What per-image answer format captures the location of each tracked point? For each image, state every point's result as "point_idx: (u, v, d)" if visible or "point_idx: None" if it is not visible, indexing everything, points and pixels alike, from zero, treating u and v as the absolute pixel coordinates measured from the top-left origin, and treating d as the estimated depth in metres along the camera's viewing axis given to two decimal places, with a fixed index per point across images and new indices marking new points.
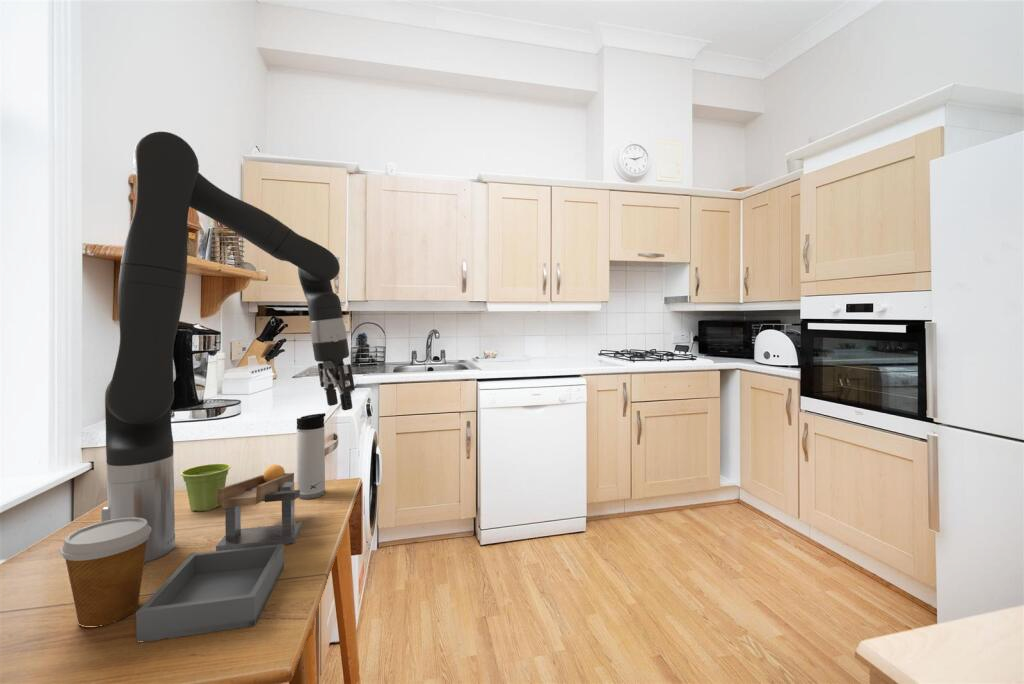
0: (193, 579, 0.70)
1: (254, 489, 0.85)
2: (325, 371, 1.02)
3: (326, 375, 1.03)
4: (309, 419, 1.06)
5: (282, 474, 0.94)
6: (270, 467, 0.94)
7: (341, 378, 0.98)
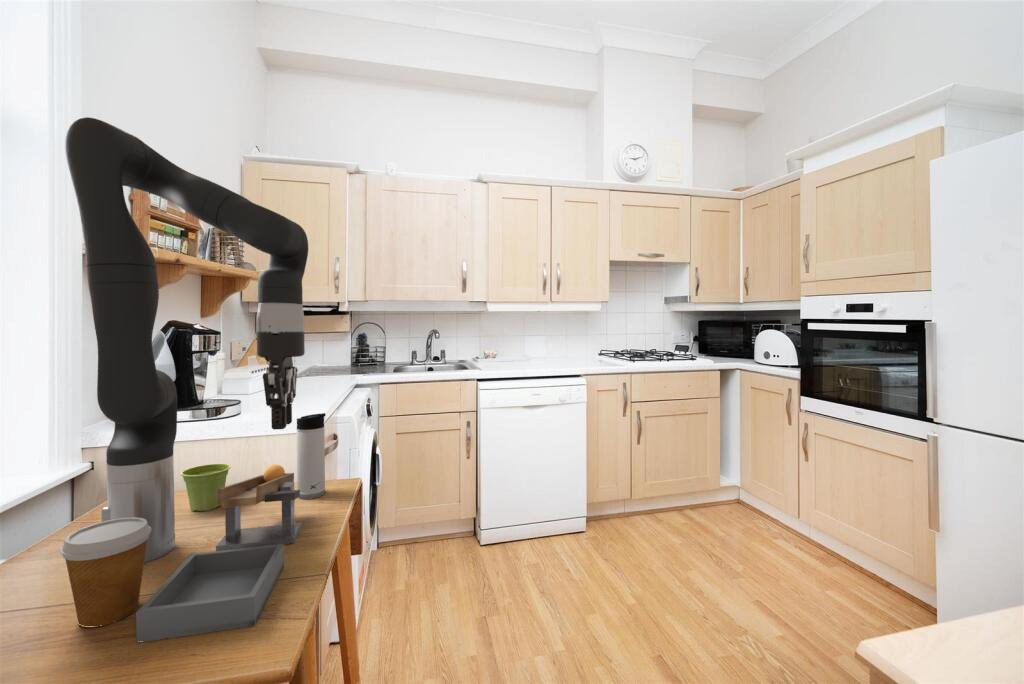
0: (193, 579, 0.70)
1: (254, 489, 0.85)
2: None
3: None
4: (309, 419, 1.06)
5: (282, 474, 0.94)
6: (270, 467, 0.94)
7: None
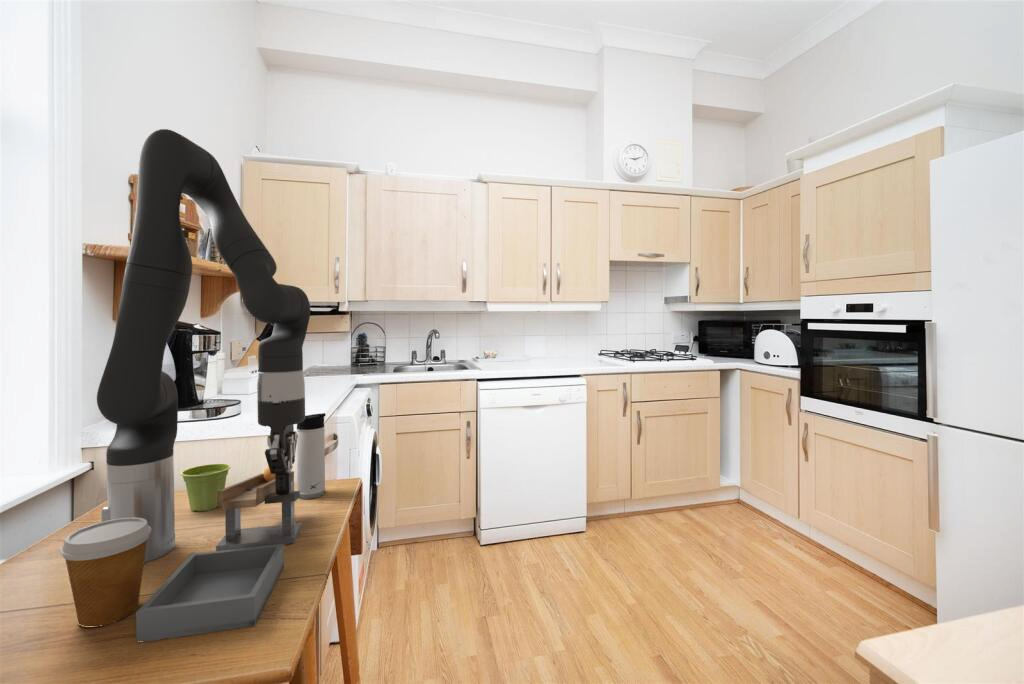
0: (193, 579, 0.70)
1: (254, 489, 0.85)
2: None
3: None
4: (309, 419, 1.06)
5: None
6: None
7: None
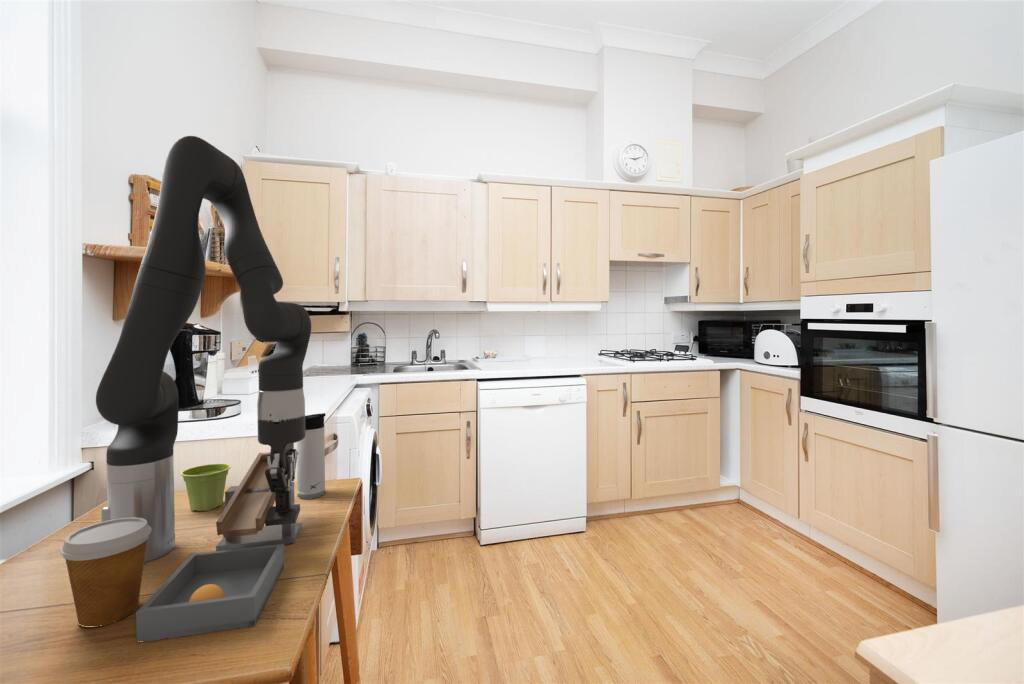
0: (193, 579, 0.70)
1: (253, 491, 0.85)
2: None
3: None
4: (309, 419, 1.06)
5: None
6: (202, 586, 0.61)
7: None
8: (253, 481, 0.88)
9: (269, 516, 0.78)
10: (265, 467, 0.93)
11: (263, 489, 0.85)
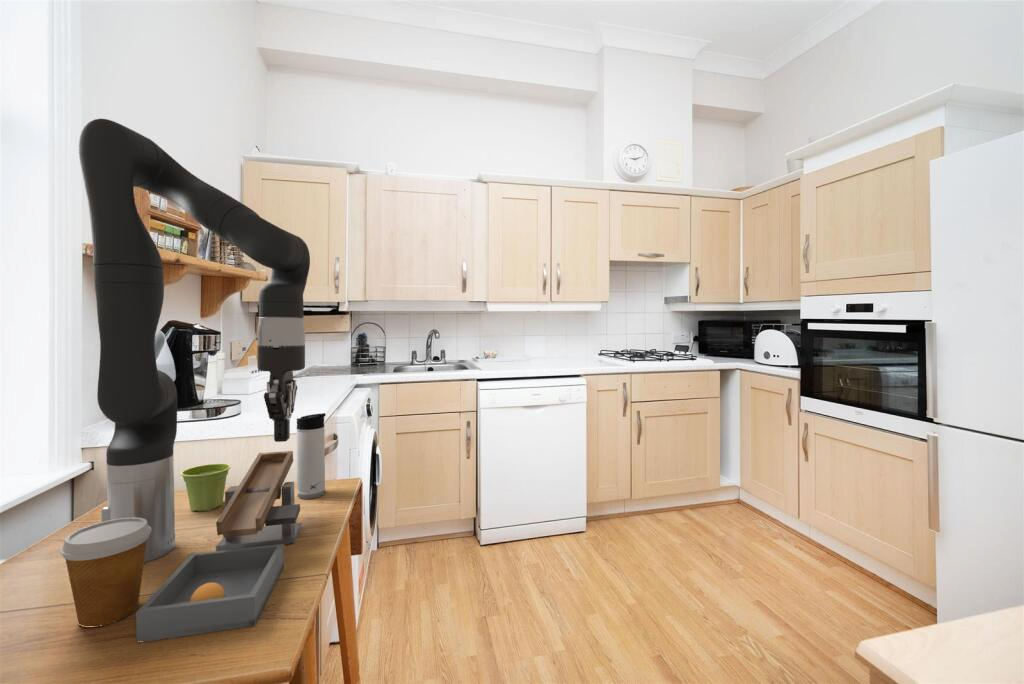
0: (193, 579, 0.70)
1: (253, 491, 0.85)
2: None
3: None
4: (309, 419, 1.06)
5: (220, 595, 0.62)
6: (204, 584, 0.62)
7: None
8: (253, 481, 0.88)
9: (269, 516, 0.78)
10: (265, 467, 0.93)
11: (263, 489, 0.85)
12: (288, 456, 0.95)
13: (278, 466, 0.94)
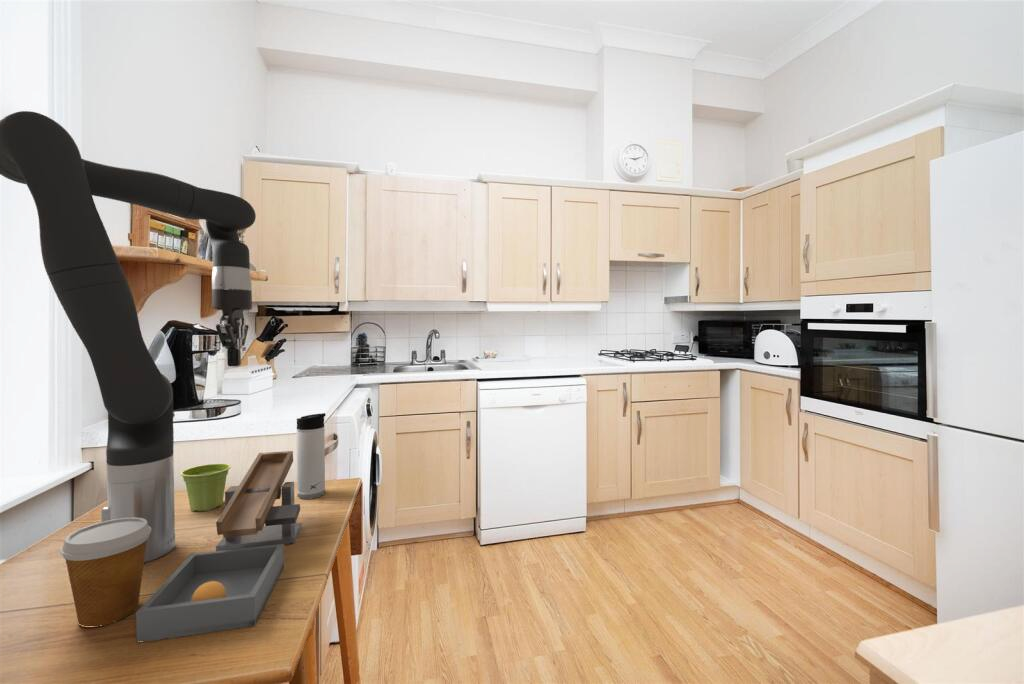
0: (193, 579, 0.70)
1: (253, 491, 0.85)
2: None
3: None
4: (309, 419, 1.06)
5: (221, 592, 0.62)
6: None
7: None
8: (253, 481, 0.88)
9: (269, 516, 0.78)
10: (265, 467, 0.93)
11: (263, 489, 0.85)
12: (288, 456, 0.95)
13: (278, 466, 0.94)
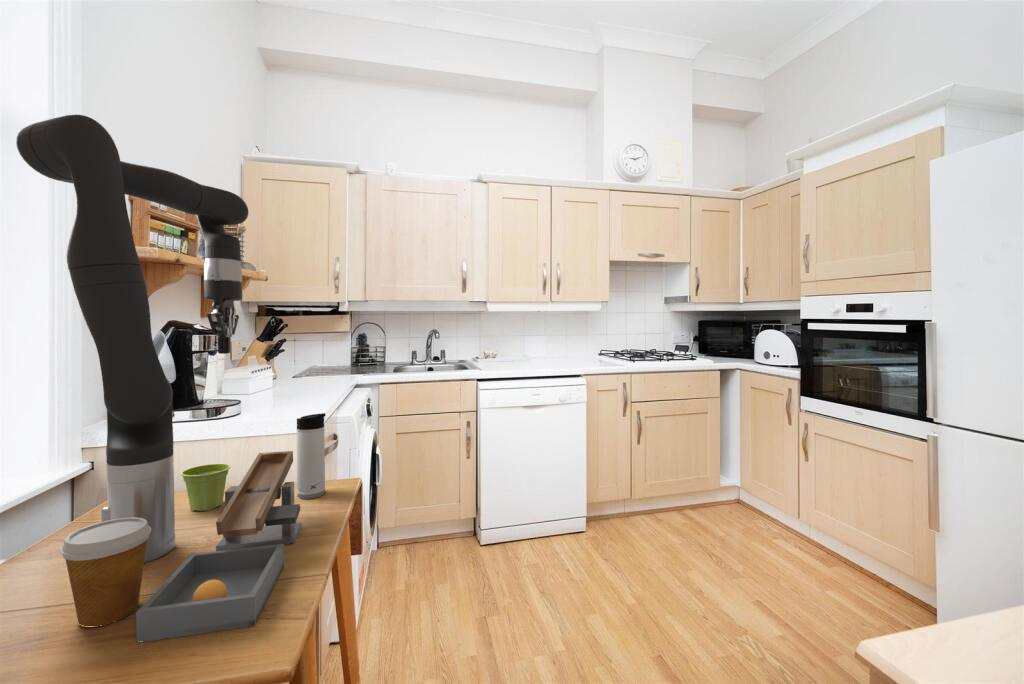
0: (193, 579, 0.70)
1: (253, 491, 0.85)
2: None
3: None
4: (309, 419, 1.06)
5: (223, 589, 0.62)
6: None
7: None
8: (253, 481, 0.88)
9: (269, 516, 0.78)
10: (265, 467, 0.93)
11: (263, 489, 0.85)
12: (288, 456, 0.95)
13: (278, 466, 0.94)
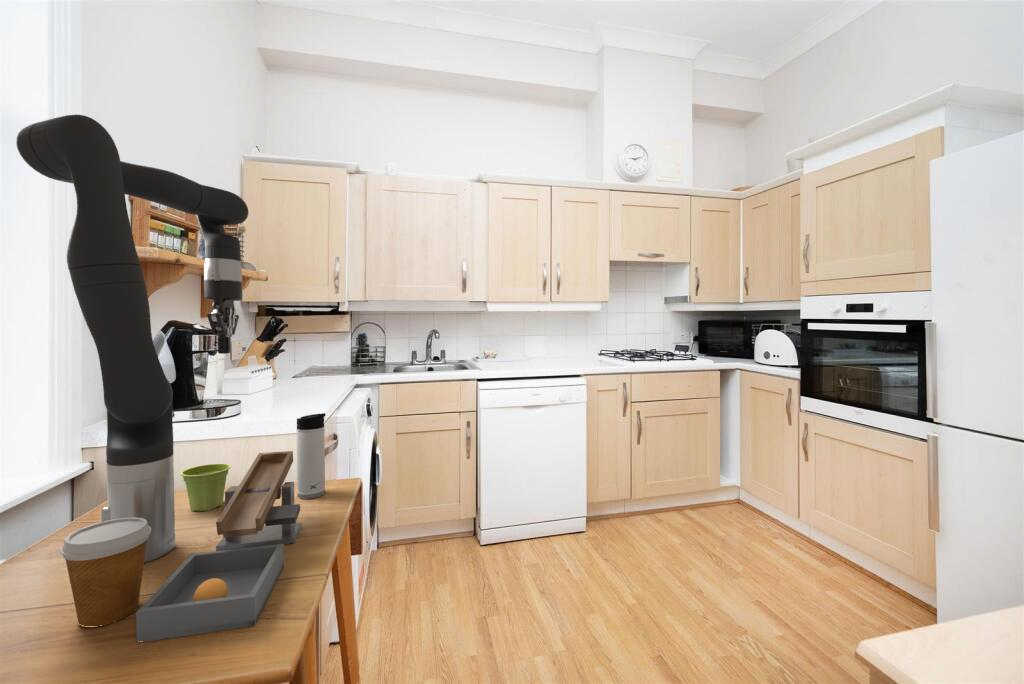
0: (193, 579, 0.70)
1: (253, 491, 0.85)
2: None
3: None
4: (309, 419, 1.06)
5: (224, 587, 0.63)
6: None
7: None
8: (253, 481, 0.88)
9: (269, 516, 0.78)
10: (265, 467, 0.93)
11: (263, 489, 0.85)
12: (288, 456, 0.95)
13: (278, 466, 0.94)
